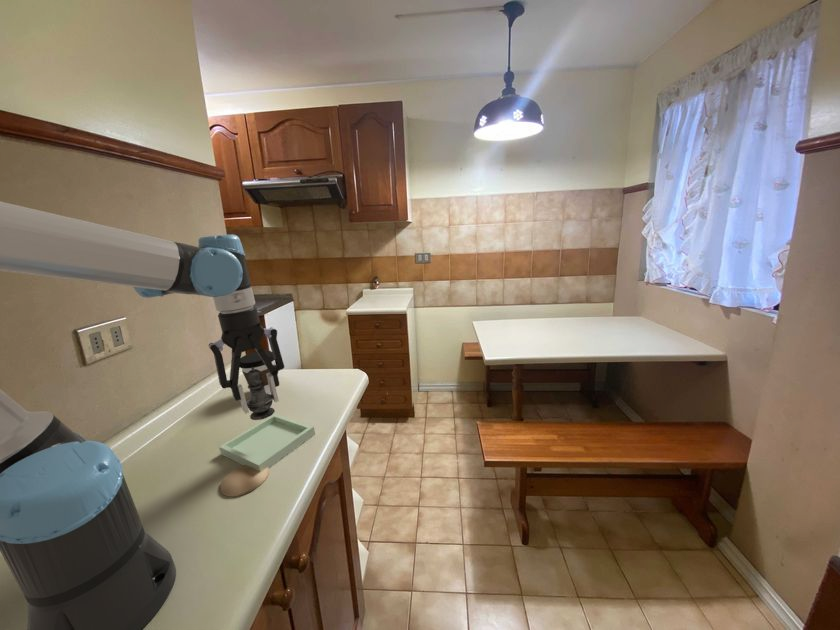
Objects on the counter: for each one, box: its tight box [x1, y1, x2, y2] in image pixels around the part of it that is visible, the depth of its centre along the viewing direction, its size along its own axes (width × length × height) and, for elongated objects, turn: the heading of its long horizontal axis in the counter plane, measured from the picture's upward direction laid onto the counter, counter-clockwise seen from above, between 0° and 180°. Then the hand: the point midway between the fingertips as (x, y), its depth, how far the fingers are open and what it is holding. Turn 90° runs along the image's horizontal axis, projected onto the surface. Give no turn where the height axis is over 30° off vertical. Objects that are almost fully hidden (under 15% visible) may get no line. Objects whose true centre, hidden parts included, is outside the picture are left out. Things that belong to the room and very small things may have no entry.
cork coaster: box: [220, 465, 270, 498], centre depth 70 cm, size 9×9×1 cm
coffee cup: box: [239, 350, 276, 394], centre depth 108 cm, size 11×11×12 cm
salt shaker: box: [246, 366, 275, 421], centre depth 78 cm, size 6×6×12 cm
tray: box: [218, 413, 316, 472], centre depth 81 cm, size 15×15×2 cm
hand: (260, 405), depth 79 cm, fingers closed on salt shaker, 6 cm apart
